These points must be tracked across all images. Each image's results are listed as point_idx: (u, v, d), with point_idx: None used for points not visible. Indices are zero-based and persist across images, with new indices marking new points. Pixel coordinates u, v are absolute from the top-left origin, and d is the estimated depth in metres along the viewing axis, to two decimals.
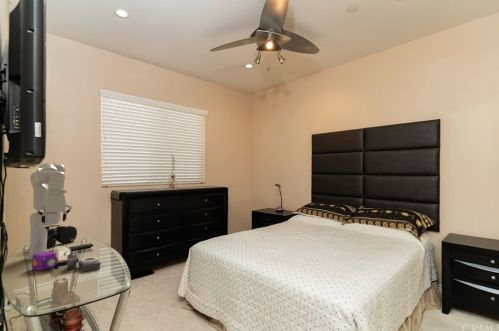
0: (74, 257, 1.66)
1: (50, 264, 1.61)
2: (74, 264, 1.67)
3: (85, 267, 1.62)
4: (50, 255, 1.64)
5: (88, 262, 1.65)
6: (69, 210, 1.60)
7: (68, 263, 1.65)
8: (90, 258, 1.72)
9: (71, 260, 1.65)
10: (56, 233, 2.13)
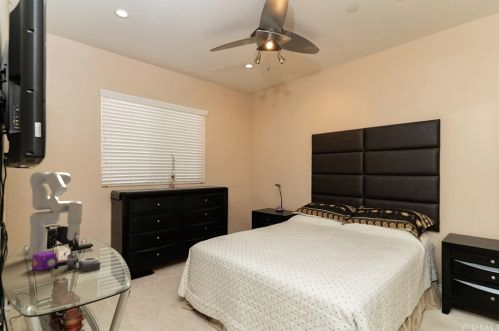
0: (74, 257, 1.66)
1: (50, 264, 1.61)
2: (74, 264, 1.67)
3: (85, 267, 1.62)
4: (50, 255, 1.64)
5: (88, 262, 1.65)
6: None
7: (68, 263, 1.65)
8: (90, 258, 1.72)
9: (71, 260, 1.65)
10: (57, 233, 2.13)
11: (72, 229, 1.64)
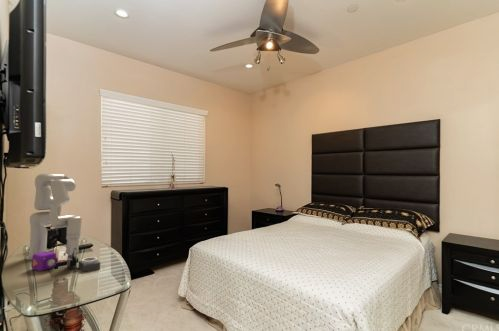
0: None
1: (50, 264, 1.61)
2: None
3: (85, 267, 1.62)
4: (50, 255, 1.64)
5: (88, 262, 1.65)
6: None
7: (68, 263, 1.65)
8: (90, 258, 1.72)
9: None
10: (57, 233, 2.13)
11: (71, 245, 1.63)
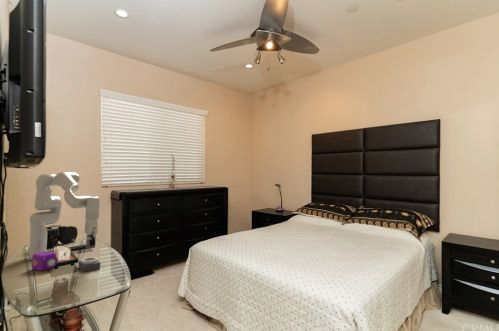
0: None
1: (50, 264, 1.61)
2: None
3: (85, 267, 1.62)
4: (50, 255, 1.64)
5: (88, 262, 1.65)
6: None
7: (87, 242, 1.67)
8: (90, 258, 1.72)
9: None
10: (58, 233, 2.13)
11: (90, 224, 1.65)
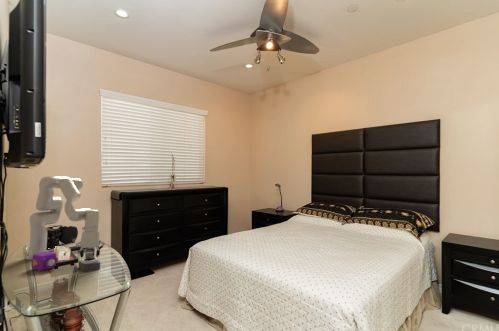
0: (94, 250, 1.70)
1: (50, 264, 1.61)
2: None
3: (85, 267, 1.62)
4: (50, 255, 1.64)
5: (88, 262, 1.65)
6: None
7: (90, 256, 1.67)
8: None
9: (93, 253, 1.69)
10: (59, 233, 2.13)
11: (98, 236, 1.68)
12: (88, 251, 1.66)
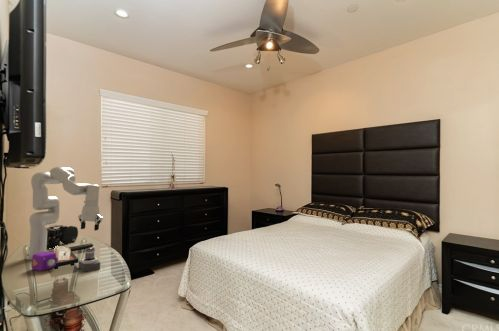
0: (94, 249, 1.70)
1: (50, 264, 1.61)
2: None
3: (85, 267, 1.62)
4: (50, 255, 1.64)
5: (88, 262, 1.65)
6: None
7: (90, 256, 1.67)
8: None
9: (93, 253, 1.69)
10: (60, 233, 2.13)
11: (95, 210, 1.71)
12: (88, 251, 1.66)
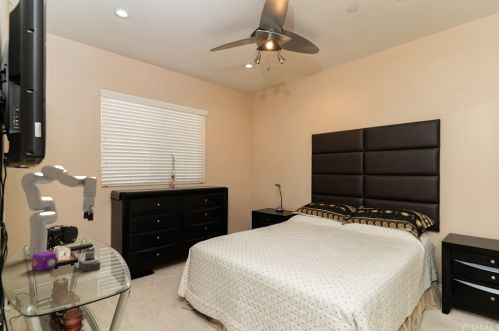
0: (94, 249, 1.70)
1: (50, 264, 1.61)
2: None
3: (85, 267, 1.62)
4: (50, 255, 1.64)
5: (88, 262, 1.65)
6: None
7: (91, 256, 1.67)
8: None
9: (93, 253, 1.69)
10: (61, 233, 2.13)
11: (88, 201, 1.77)
12: (88, 251, 1.66)
